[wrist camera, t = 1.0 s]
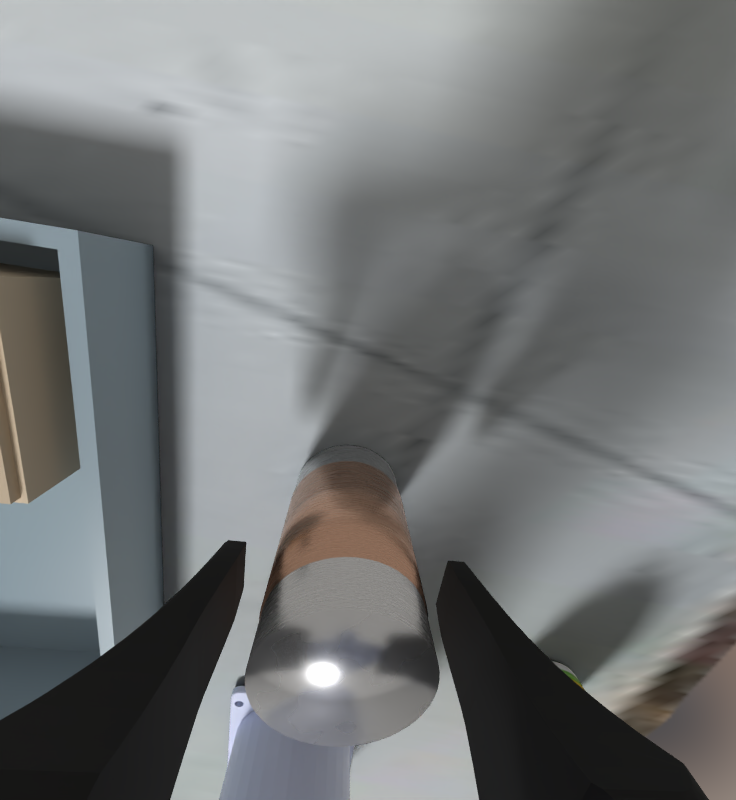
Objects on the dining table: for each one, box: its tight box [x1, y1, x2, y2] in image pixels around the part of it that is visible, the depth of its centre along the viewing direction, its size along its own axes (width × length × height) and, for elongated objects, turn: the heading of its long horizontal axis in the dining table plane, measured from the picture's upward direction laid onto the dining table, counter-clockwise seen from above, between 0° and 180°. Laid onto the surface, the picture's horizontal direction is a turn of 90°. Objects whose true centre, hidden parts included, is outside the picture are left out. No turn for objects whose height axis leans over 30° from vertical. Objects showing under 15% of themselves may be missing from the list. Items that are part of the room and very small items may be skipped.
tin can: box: [245, 445, 440, 747], centre depth 13 cm, size 5×5×9 cm
